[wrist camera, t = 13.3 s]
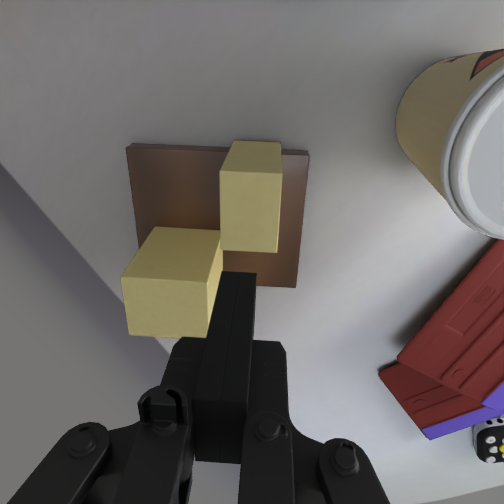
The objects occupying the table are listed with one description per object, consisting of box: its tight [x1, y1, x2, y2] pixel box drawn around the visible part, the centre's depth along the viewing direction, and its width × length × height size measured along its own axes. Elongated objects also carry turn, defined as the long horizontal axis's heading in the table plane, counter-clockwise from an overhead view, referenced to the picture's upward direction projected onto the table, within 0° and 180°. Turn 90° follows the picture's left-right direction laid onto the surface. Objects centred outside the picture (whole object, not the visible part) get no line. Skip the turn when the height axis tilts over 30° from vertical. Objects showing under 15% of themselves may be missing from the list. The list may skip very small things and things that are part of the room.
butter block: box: [120, 227, 223, 339], centre depth 29 cm, size 6×5×8 cm
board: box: [126, 143, 309, 288], centre depth 31 cm, size 14×12×2 cm
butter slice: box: [219, 141, 283, 253], centre depth 25 cm, size 4×5×8 cm
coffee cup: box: [396, 49, 504, 240], centre depth 22 cm, size 9×9×12 cm
